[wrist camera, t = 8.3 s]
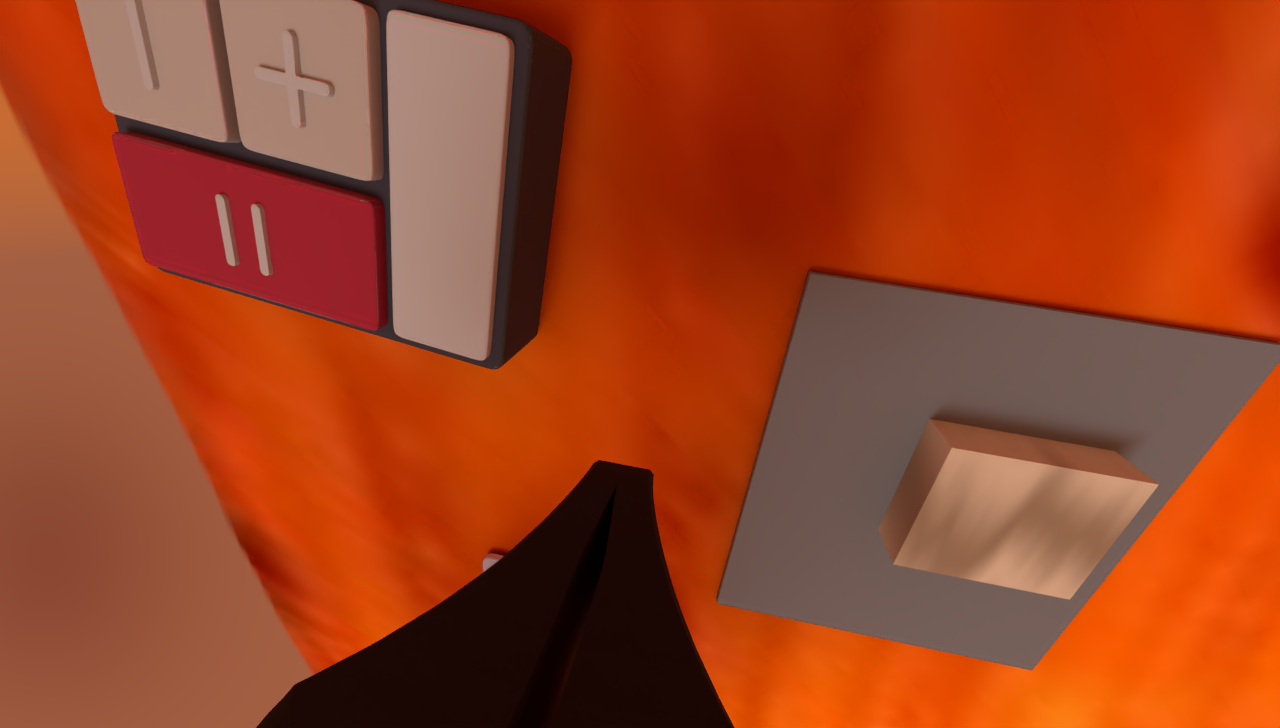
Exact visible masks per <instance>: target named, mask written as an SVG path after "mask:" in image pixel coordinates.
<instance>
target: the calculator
mask: <svg viewBox="0 0 1280 728" xmlns="http://www.w3.org/2000/svg"><path fill="white" fill-rule="evenodd" d="M75 1H76V4H77V8H78V12H79V16H80V20H81V23H82V27H83V31H84V35H85V39H86V42H87V46H88V50H89V54H90V57H91V61H92V65H93V69H94V73H95V76H96V80H97V84H98V88H99V92H100V95H101V99H102V101H103V104H104V106H105V108H106V109H107V110H108V111H109V112H111V113H113V114H115V118H116V122H117V126H118V130H119V132H115V133H113V135H112V139H113V145H114V148H115V152H116V156H117V160H118V164H119V167H120V171H121V175H122V179H123V182H124V186H125V190H126V194H127V198H128V201H129V205H130V209H131V213H132V216H133V220H134V224H135V228H136V232H137V235H138V239H139V243H140V247H141V250H142V254H143V257H144V259H145V261H146V262H147V263H149V264H151V265H153V266H156V267H157V268H159V269H160V270H162V271H164V272H167V273H170V274H173V275H177V276H180V277H183V278H187V279H190V280H194V281H197V282H200V283H204V284H207V285H210V286H214V287H217V288H220V289H224V290H227V291H230V292H234V293H237V294H240V295H244V296H247V297H250V298H254V299H257V300H261V301H264V302H267V303H271V304H274V305H277V306H281V307H284V308H287V309H291V310H294V311H297V312H301V313H304V314H307V315H311V316H314V317H318V318H321V319H324V320H328V321H331V322H334V323H338V324H341V325H344V326H348V327H351V328H354V329H358V330H361V331H364V332H368V333H371V334H374V335H378V336H381V337H385V338H388V339H391V340H395V341H398V342H401V343H405V344H408V345H411V346H415V347H418V348H421V349H425V350H428V351H431V352H435V353H438V354H441V355H445V356H448V357H452V358H455V359H458V360H462V361H465V362H468V363H472V364H475V365H478V366H482V367H485V368H489V369H498V368H500V367H501V366H503V365H504V364H505V363H506V362H507V361H508V360H510V359H511V358H512V357H513V356H514V355H515V354H516V353H517V352H519V351H520V350H521V349H522V348H523V347H524V346H525V345H527V344H528V343H529V342H530V341H531V340H532V339H533V338H534V337H535V336H536V335H537V332H538V325H539V317H540V310H541V302H542V294H543V286H544V278H545V270H546V263H547V255H548V247H549V239H550V231H551V223H552V215H553V208H554V200H555V192H556V184H557V176H558V168H559V160H560V153H561V145H562V137H563V129H564V121H565V113H566V105H567V98H568V90H569V82H570V74H571V64H572V59H571V54H570V52H569V50H568V49H567V48H566V47H565V46H564V45H562V44H561V43H559V42H557V41H556V40H554V39H552V38H551V37H549V36H547V35H546V34H544V33H542V32H541V31H539V30H538V29H536V28H534V27H533V26H531V25H529V24H527V23H526V22H524V21H522V20H518V19H515V18H511V17H507V16H502V15H498V14H494V13H489V12H485V11H480V10H476V9H472V8H467V7H463V6H458V5H454V4H450V3H445V2H441V1H436V0H75Z"/></svg>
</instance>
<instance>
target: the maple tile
mask: <svg viewBox="0 0 1280 728" xmlns="http://www.w3.org/2000/svg"><path fill="white" fill-rule="evenodd" d="M1158 485H1159V484H1158V483H1156V482H1155V481H1154V480H1152V479H1151V478H1150V477H1148V476H1147V475H1146V474H1144V473H1143V472H1142V471H1141V470H1139V469H1138V468H1137V467H1135V466H1134V465H1133V464H1131V463H1130V462H1129V461H1127V460H1126V459H1125V458H1123V457H1122V456H1121V455H1120V454H1118V453H1117V452H1116V451H1111V450H1106V449H1100V448H1094V447H1088V446H1083V445H1077V444H1071V443H1065V442H1060V441H1054V440H1048V439H1043V438H1037V437H1031V436H1025V435H1020V434H1014V433H1008V432H1002V431H997V430H991V429H985V428H979V427H974V426H968V425H962V424H956V423H951V422H945V421H939V420H933V419H929V420H928V423H927V425H926V427H925V429H924V431H923V433H922V436H921V438H920V440H919V442H918V444H917V446H916V449H915V451H914V453H913V455H912V457H911V459H910V462H909V464H908V466H907V468H906V470H905V472H904V474H903V477H902V479H901V481H900V483H899V485H898V487H897V490H896V492H895V494H894V496H893V498H892V500H891V503H890V505H889V507H888V509H887V511H886V513H885V515H884V518H883V520H882V522H881V524H880V526H879V528H878V530H879V532H880V535H881V537H882V539H883V542H884V544H885V547H886V549H887V551H888V554H889V556H890V558H891V561H892V563H893V564H894V565H899V566H904V567H909V568H914V569H919V570H924V571H929V572H934V573H939V574H944V575H949V576H954V577H959V578H964V579H969V580H974V581H979V582H984V583H989V584H994V585H999V586H1004V587H1009V588H1014V589H1019V590H1024V591H1029V592H1034V593H1039V594H1044V595H1049V596H1054V597H1059V598H1064V599H1069V600H1070V599H1071V598H1072V596H1073V595H1074V594H1075V592H1076V591H1077V590H1078V588H1079V587H1080V586H1081V585H1082V583H1083V582H1084V581H1085V579H1086V578H1087V577H1088V576H1089V574H1090V573H1091V572H1092V570H1093V569H1094V568H1095V567H1096V565H1097V564H1098V563H1099V561H1100V560H1101V559H1102V558H1103V556H1104V555H1105V554H1106V552H1107V551H1108V550H1109V549H1110V547H1111V546H1112V545H1113V543H1114V542H1115V541H1116V539H1117V538H1118V537H1119V536H1120V534H1121V533H1122V532H1123V530H1124V529H1125V528H1126V527H1127V525H1128V524H1129V523H1130V521H1131V520H1132V519H1133V518H1134V516H1135V515H1136V514H1137V512H1138V511H1139V510H1140V509H1141V507H1142V506H1143V505H1144V503H1145V502H1146V501H1147V499H1148V498H1149V497H1150V496H1151V494H1152V493H1153V492H1154V490H1155V489H1156V488H1157V487H1158Z"/></svg>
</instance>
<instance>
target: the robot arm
mask: <svg viewBox="0 0 1280 728" xmlns="http://www.w3.org/2000/svg"><path fill="white" fill-rule="evenodd" d="M653 476H654V475H653V473H652V472H651V471H650V470H648V469H643V468H637V467H632V466H627V465H622V464H617V463H611V462H606V461H601V460H598V461H597V462H595V463H594V464H593V465H592V466H591V468H590V469H589V471H588V472H587V473H586V474H585V476H584V477H583V478H582V479H581V481H580V482H579V483H578V484H577V485H576V486H575V488H574V489H573V490H572V491H571V492H570V493H569V494H568V496H567V497H566V498H565V499H564V500H563V501H562V502H561V503H560V504H559V505H558V506H557V507H556V508H555V509H554V510H553V511H552V512H551V513H550V514H549V516H548V517H546V518H545V519H544V520H543V521H542V522H541V523H540V524H539V525H538V526H537V527H536V528H535V529H534V530H533V531H532V532H531V533H529V534H528V535H527V536H526V537H525V538H524V539H523V540H522V541H521V542H520V543H519V544H518V545H516V546H515V547H514V548H513V549H512V550H511V551H509V552H508V553H507V554H506V555H505V556H503V555H498V554H493V553H490V554H487V555H486V556H485V558H484V560H483V573H482V574H481V575H479V576H478V577H477V578H475V579H474V580H472V581H471V582H470V583H468V584H467V585H465V586H464V587H463V588H461V589H460V590H458V591H457V592H456V593H454V594H453V595H451V596H450V597H448V598H447V599H445V600H444V601H442V602H441V603H439V604H438V605H436V606H435V607H433V608H432V609H430V610H429V611H427V612H425V613H424V614H422V615H420V616H419V617H417V618H415V619H414V620H412V621H411V622H409V623H407V624H406V625H404V626H402V627H401V628H399V629H397V630H396V631H394V632H392V633H391V634H389V635H387V636H386V637H384V638H382V639H381V640H379V641H377V642H375V643H374V644H372V645H370V646H368V647H366V648H365V649H363V650H361V651H359V652H357V653H355V654H353V655H351V656H349V657H347V658H345V659H343V660H342V661H340V662H338V663H336V664H334V665H332V666H330V667H328V668H326V669H324V670H322V671H321V672H319V673H317V674H315V675H313V676H311V677H309V678H307V679H305V680H303V681H301V682H299V683H297V684H295V685H294V686H293V687H292V688H291V690H290V691H289V692H288V693H287V694H286V695H285V697H284V698H283V699H282V700H281V701H280V702H279V703H278V704H277V705H276V706H275V707H274V708H273V709H272V710H271V711H270V712H269V713H268V714H267V716H266V717H265V718H264V719H263V720H262V721H261V723H260V724H259V725H258V726H257V727H256V728H734V726H733V724H732V722H731V720H730V718H729V716H728V714H727V712H726V710H725V709H724V707H723V705H722V703H721V701H720V699H719V697H718V695H717V693H716V690H715V688H714V686H713V684H712V682H711V680H710V677H709V675H708V673H707V671H706V669H705V667H704V664H703V662H702V660H701V658H700V656H699V654H698V652H697V649H696V647H695V645H694V642H693V640H692V637H691V635H690V632H689V630H688V627H687V625H686V622H685V620H684V617H683V614H682V611H681V609H680V606H679V603H678V600H677V597H676V594H675V591H674V588H673V585H672V582H671V579H670V575H669V572H668V568H667V565H666V561H665V557H664V553H663V549H662V545H661V540H660V536H659V531H658V526H657V521H656V515H655V508H654V499H653Z"/></svg>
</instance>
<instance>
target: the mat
mask: <svg viewBox="0 0 1280 728" xmlns="http://www.w3.org/2000/svg"><path fill="white" fill-rule="evenodd" d="M1279 362H1280V343H1279V342H1272V341H1266V340H1259V339H1252V338H1246V337H1239V336H1233V335H1226V334H1220V333H1213V332H1207V331H1200V330H1193V329H1187V328H1180V327H1174V326H1167V325H1161V324H1154V323H1148V322H1141V321H1134V320H1128V319H1121V318H1115V317H1108V316H1102V315H1095V314H1088V313H1082V312H1075V311H1069V310H1062V309H1056V308H1049V307H1043V306H1036V305H1029V304H1023V303H1016V302H1010V301H1003V300H997V299H990V298H983V297H977V296H970V295H964V294H957V293H951V292H944V291H938V290H931V289H924V288H918V287H911V286H905V285H898V284H892V283H885V282H879V281H872V280H865V279H859V278H852V277H846V276H839V275H833V274H826V273H819V272H813V271H809V272H808V275H807V279H806V283H805V286H804V290H803V293H802V297H801V300H800V304H799V307H798V311H797V314H796V318H795V321H794V325H793V329H792V332H791V336H790V339H789V343H788V346H787V350H786V353H785V357H784V360H783V364H782V367H781V371H780V375H779V378H778V382H777V385H776V389H775V392H774V396H773V399H772V403H771V406H770V410H769V413H768V417H767V421H766V424H765V428H764V431H763V435H762V438H761V442H760V445H759V449H758V452H757V456H756V459H755V463H754V467H753V470H752V474H751V477H750V481H749V484H748V488H747V491H746V495H745V498H744V502H743V505H742V509H741V513H740V516H739V520H738V523H737V527H736V530H735V534H734V537H733V541H732V544H731V548H730V551H729V555H728V559H727V562H726V566H725V569H724V573H723V576H722V580H721V583H720V587H719V590H718V594H717V604H722V605H726V606H731V607H736V608H740V609H745V610H750V611H755V612H759V613H764V614H769V615H773V616H778V617H783V618H787V619H792V620H797V621H802V622H806V623H811V624H816V625H820V626H825V627H830V628H834V629H839V630H844V631H849V632H853V633H858V634H863V635H867V636H872V637H877V638H881V639H886V640H891V641H896V642H900V643H905V644H910V645H914V646H919V647H924V648H928V649H933V650H938V651H943V652H947V653H952V654H957V655H961V656H966V657H971V658H975V659H980V660H985V661H990V662H994V663H999V664H1004V665H1008V666H1013V667H1018V668H1022V669H1027V670H1033V669H1034V667H1035V666H1036V665H1037V664H1038V662H1039V661H1040V660H1041V659H1042V657H1043V656H1044V655H1045V654H1046V652H1047V651H1048V650H1049V649H1050V647H1051V646H1052V645H1053V644H1054V642H1055V641H1056V640H1057V639H1058V637H1059V636H1060V635H1061V634H1062V632H1063V631H1064V630H1065V629H1066V627H1067V626H1068V625H1069V624H1070V622H1071V621H1072V620H1073V619H1074V617H1075V616H1076V615H1077V614H1078V612H1079V611H1080V610H1081V609H1082V607H1083V606H1084V605H1085V604H1086V602H1087V601H1088V600H1089V599H1090V597H1091V596H1092V595H1093V594H1094V592H1095V591H1096V590H1097V589H1098V587H1099V586H1100V585H1101V584H1102V582H1103V581H1104V580H1105V579H1106V577H1107V576H1108V575H1109V574H1110V572H1111V571H1112V570H1113V569H1114V567H1115V566H1116V565H1117V564H1118V562H1119V561H1120V560H1121V559H1122V557H1123V556H1124V555H1125V554H1126V553H1127V551H1128V550H1129V549H1130V548H1131V546H1132V545H1133V544H1134V543H1135V541H1136V540H1137V539H1138V538H1139V536H1140V535H1141V534H1142V533H1143V531H1144V530H1145V529H1146V528H1147V526H1148V525H1149V524H1150V523H1151V521H1152V520H1153V519H1154V518H1155V516H1156V515H1157V514H1158V513H1159V511H1160V510H1161V509H1162V508H1163V506H1164V505H1165V504H1166V503H1167V501H1168V500H1169V499H1170V498H1171V496H1172V495H1173V494H1174V493H1175V491H1176V490H1177V489H1178V488H1179V486H1180V485H1181V484H1182V483H1183V481H1184V480H1185V479H1186V478H1187V476H1188V475H1189V474H1190V473H1191V471H1192V470H1193V469H1194V468H1195V466H1196V465H1197V464H1198V463H1199V461H1200V460H1201V459H1202V458H1203V456H1204V455H1205V454H1206V453H1207V451H1208V450H1209V449H1210V448H1211V446H1212V445H1213V444H1214V443H1215V441H1216V440H1217V439H1218V438H1219V436H1220V435H1221V434H1222V433H1223V431H1224V430H1225V429H1226V428H1227V427H1228V425H1229V424H1230V423H1231V422H1232V420H1233V419H1234V418H1235V417H1236V415H1237V414H1238V413H1239V412H1240V410H1241V409H1242V408H1243V407H1244V405H1245V404H1246V403H1247V402H1248V400H1249V399H1250V398H1251V397H1252V395H1253V394H1254V393H1255V392H1256V390H1257V389H1258V388H1259V387H1260V385H1261V384H1262V383H1263V382H1264V380H1265V379H1266V378H1267V377H1268V375H1269V374H1270V373H1271V372H1272V370H1273V369H1274V368H1275V367H1276V365H1277V364H1278V363H1279ZM929 419H933V420H939V421H945V422H951V423H956V424H962V425H968V426H974V427H979V428H985V429H991V430H997V431H1002V432H1008V433H1014V434H1020V435H1025V436H1031V437H1037V438H1043V439H1048V440H1054V441H1060V442H1065V443H1071V444H1077V445H1083V446H1088V447H1094V448H1100V449H1106V450H1111V451H1116V452H1117V453H1118V454H1120V455H1121V456H1122V457H1123V458H1125V459H1126V460H1127V461H1129V462H1130V463H1131V464H1133V465H1134V466H1135V467H1137V468H1138V469H1139V470H1141V471H1142V472H1143V473H1144V474H1146V475H1147V476H1148V477H1150V478H1151V479H1152V480H1154V481H1155V482H1156V483H1158V484H1159V485H1158V487H1157V488H1156V489H1155V490H1154V492H1153V493H1152V494H1151V496H1150V497H1149V498H1148V499H1147V501H1146V502H1145V503H1144V505H1143V506H1142V507H1141V509H1140V510H1139V511H1138V512H1137V514H1136V515H1135V516H1134V518H1133V519H1132V520H1131V521H1130V523H1129V524H1128V525H1127V527H1126V528H1125V529H1124V530H1123V532H1122V533H1121V534H1120V536H1119V537H1118V538H1117V539H1116V541H1115V542H1114V543H1113V545H1112V546H1111V547H1110V549H1109V550H1108V551H1107V552H1106V554H1105V555H1104V556H1103V558H1102V559H1101V560H1100V561H1099V563H1098V564H1097V565H1096V567H1095V568H1094V569H1093V570H1092V572H1091V573H1090V574H1089V576H1088V577H1087V578H1086V579H1085V581H1084V582H1083V583H1082V585H1081V586H1080V587H1079V588H1078V590H1077V591H1076V592H1075V594H1074V595H1073V596H1072V598H1071V599H1070V600H1069V599H1064V598H1059V597H1054V596H1049V595H1044V594H1039V593H1034V592H1029V591H1024V590H1019V589H1014V588H1009V587H1004V586H999V585H994V584H989V583H984V582H979V581H974V580H969V579H964V578H959V577H954V576H949V575H944V574H939V573H934V572H929V571H924V570H919V569H914V568H909V567H904V566H899V565H894V564H893V563H892V561H891V558H890V556H889V554H888V551H887V549H886V547H885V544H884V542H883V539H882V537H881V535H880V532H879V530H878V528H879V526H880V524H881V522H882V520H883V518H884V515H885V513H886V511H887V509H888V507H889V505H890V503H891V500H892V498H893V496H894V494H895V492H896V490H897V487H898V485H899V483H900V481H901V479H902V477H903V474H904V472H905V470H906V468H907V466H908V464H909V462H910V459H911V457H912V455H913V453H914V451H915V449H916V446H917V444H918V442H919V440H920V438H921V436H922V433H923V431H924V429H925V427H926V425H927V423H928V420H929Z"/></svg>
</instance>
